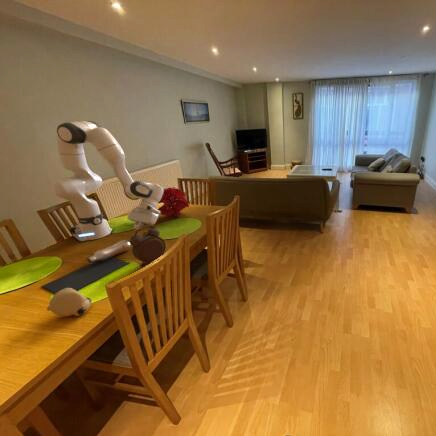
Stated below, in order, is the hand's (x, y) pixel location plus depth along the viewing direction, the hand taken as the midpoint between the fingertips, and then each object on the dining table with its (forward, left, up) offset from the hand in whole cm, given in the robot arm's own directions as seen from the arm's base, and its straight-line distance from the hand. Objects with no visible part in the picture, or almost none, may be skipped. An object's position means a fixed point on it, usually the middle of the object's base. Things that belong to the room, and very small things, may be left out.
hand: (135, 229), depth 141 cm
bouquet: (-19, +39, -10) cm, 45 cm away
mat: (+6, -31, -9) cm, 33 cm away
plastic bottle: (0, -6, -6) cm, 9 cm away
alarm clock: (+25, -11, -10) cm, 29 cm away
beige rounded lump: (+29, -48, -10) cm, 57 cm away
